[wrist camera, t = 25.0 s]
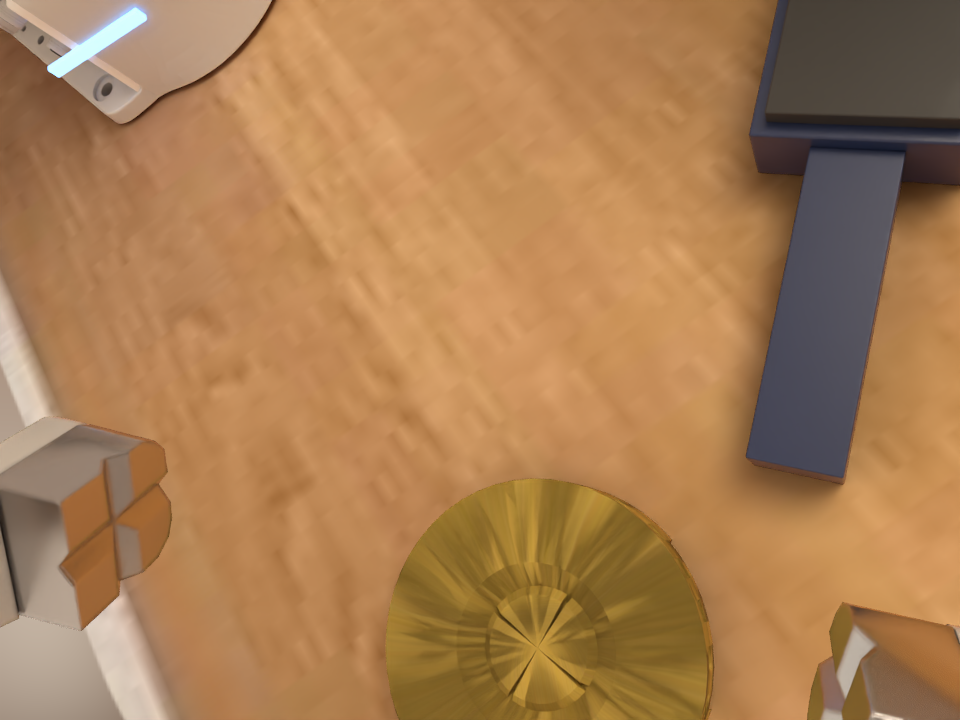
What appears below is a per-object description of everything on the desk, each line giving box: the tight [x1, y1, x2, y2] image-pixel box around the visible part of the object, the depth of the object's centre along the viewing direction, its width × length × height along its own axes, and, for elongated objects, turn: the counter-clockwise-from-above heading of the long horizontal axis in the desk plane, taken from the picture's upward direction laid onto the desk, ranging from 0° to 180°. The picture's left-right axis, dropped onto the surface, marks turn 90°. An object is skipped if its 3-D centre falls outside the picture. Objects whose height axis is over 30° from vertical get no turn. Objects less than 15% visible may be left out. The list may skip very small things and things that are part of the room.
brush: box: [746, 0, 960, 484], centre depth 28 cm, size 20×7×4 cm, turn 164°
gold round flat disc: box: [386, 479, 714, 720], centre depth 30 cm, size 12×12×2 cm
